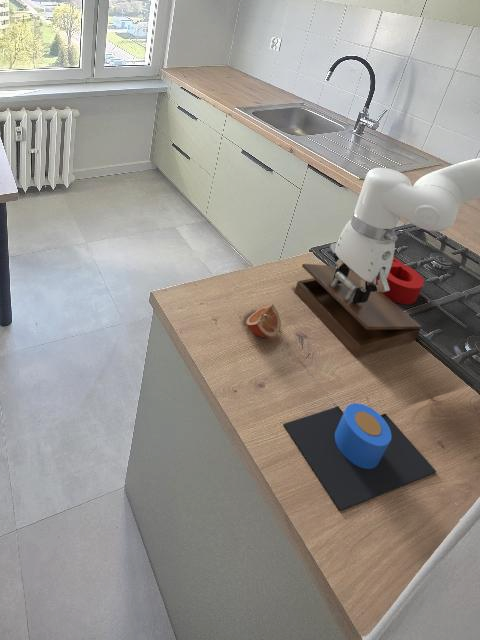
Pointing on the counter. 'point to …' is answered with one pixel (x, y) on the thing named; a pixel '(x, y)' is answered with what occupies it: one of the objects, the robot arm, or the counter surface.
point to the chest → (349, 322)
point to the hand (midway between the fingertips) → (348, 291)
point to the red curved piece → (403, 283)
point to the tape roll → (362, 435)
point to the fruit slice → (265, 322)
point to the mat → (344, 476)
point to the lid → (370, 313)
